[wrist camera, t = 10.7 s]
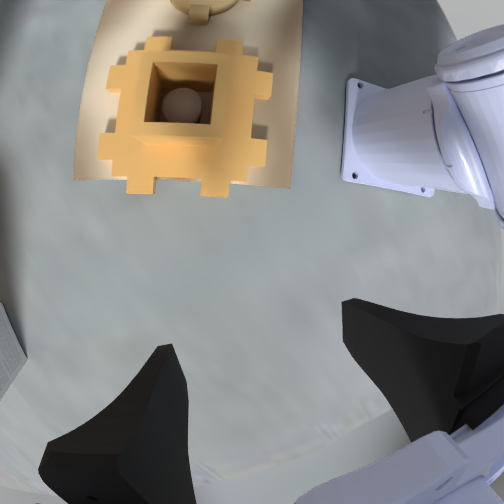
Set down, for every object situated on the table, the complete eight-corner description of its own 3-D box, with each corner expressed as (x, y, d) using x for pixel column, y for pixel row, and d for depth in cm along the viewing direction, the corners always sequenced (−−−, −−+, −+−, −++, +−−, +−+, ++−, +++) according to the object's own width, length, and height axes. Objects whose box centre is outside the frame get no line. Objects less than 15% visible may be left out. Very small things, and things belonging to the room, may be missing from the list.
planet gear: (271, 52, 16) (295, 18, 11) (258, 198, 18) (280, 207, 14) (119, 44, 14) (99, 10, 9) (100, 192, 16) (68, 199, 12)
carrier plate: (299, -21, 15) (317, -48, 11) (284, 187, 20) (306, 191, 16) (125, -32, 12) (116, -61, 8) (80, 179, 17) (52, 181, 13)
